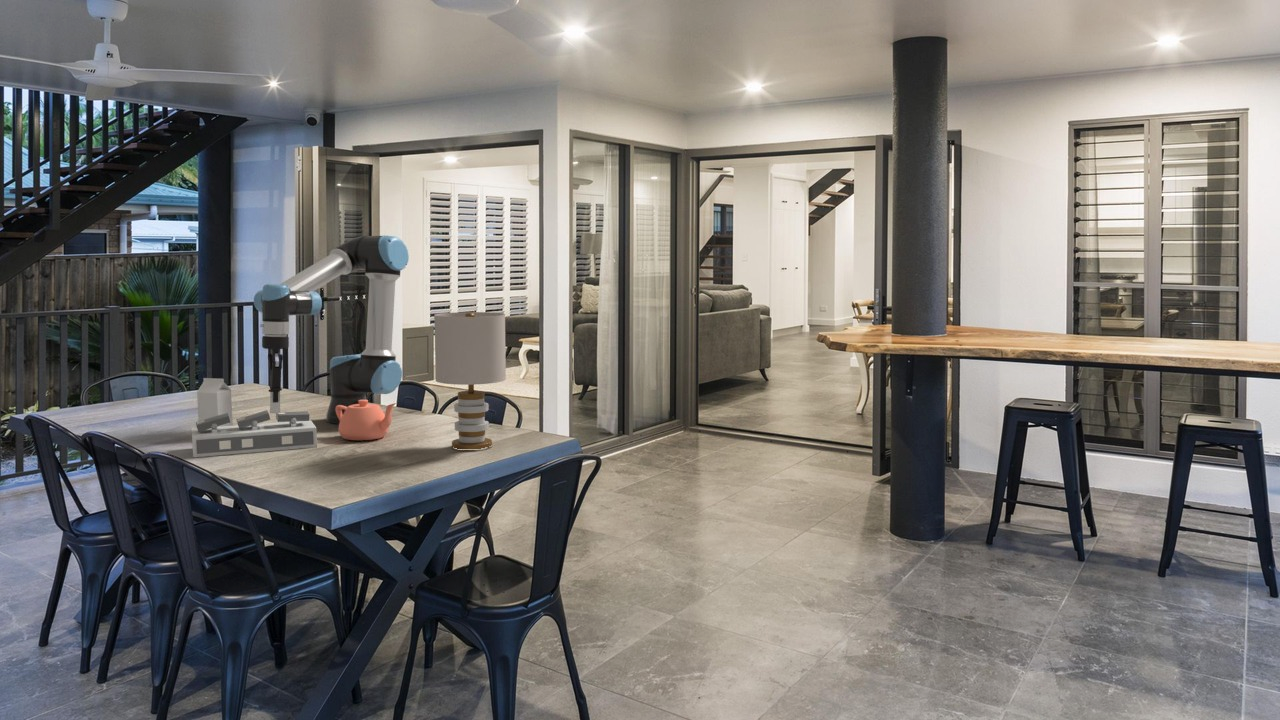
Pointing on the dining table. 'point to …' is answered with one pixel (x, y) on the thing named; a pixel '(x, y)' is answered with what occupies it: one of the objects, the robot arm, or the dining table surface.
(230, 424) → the milk carton
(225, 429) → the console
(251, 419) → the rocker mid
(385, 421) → the teapot
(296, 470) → the dining table surface
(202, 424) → the rocker
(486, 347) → the lamp
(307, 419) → the plate
